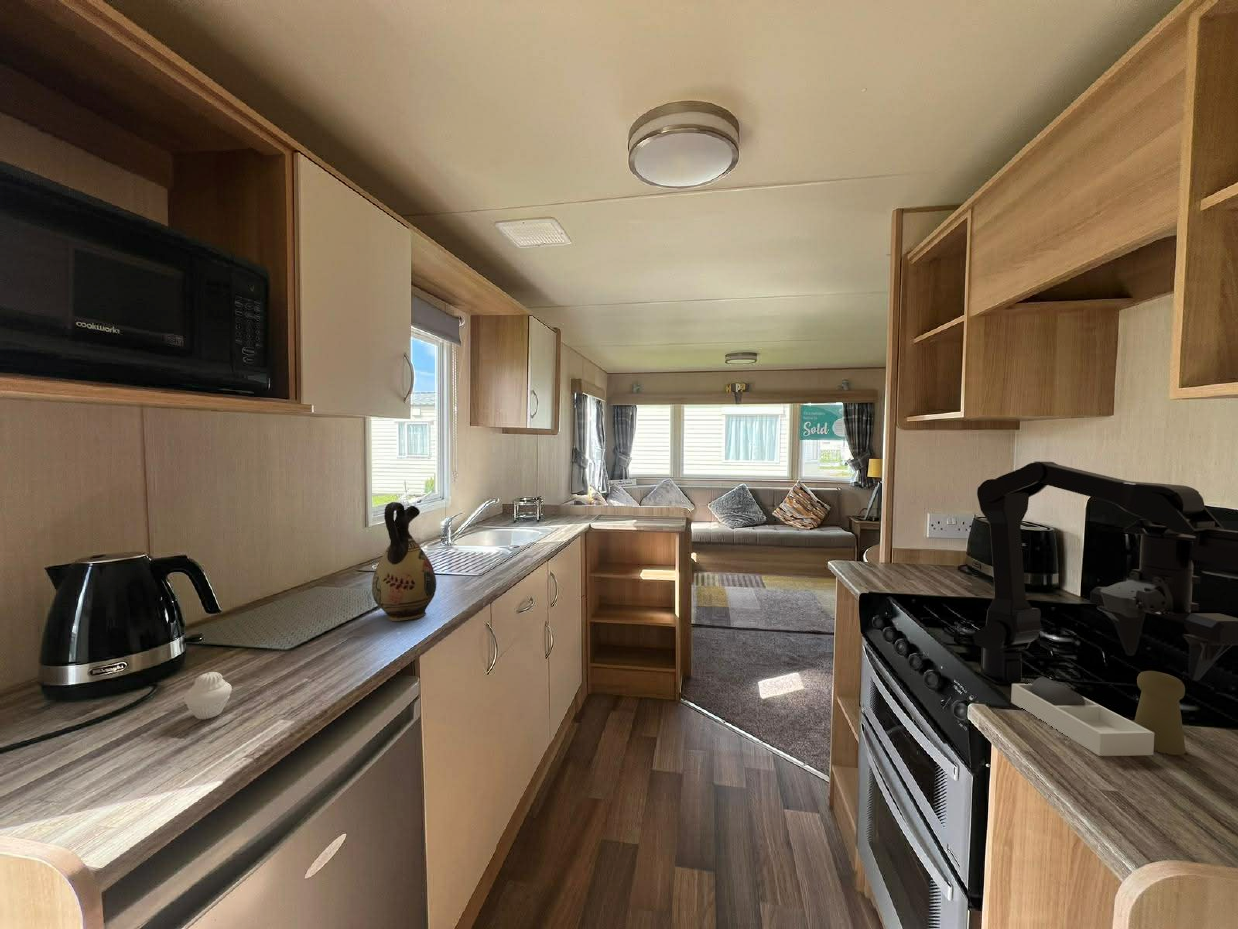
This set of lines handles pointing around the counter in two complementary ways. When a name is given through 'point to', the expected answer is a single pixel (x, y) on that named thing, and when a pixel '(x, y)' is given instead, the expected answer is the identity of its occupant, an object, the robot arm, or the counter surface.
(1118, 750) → the slot tray
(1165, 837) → the counter surface
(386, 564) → the ceramic jug
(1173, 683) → the cork
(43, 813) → the counter surface
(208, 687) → the muffin
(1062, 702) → the dark grey cylinder
